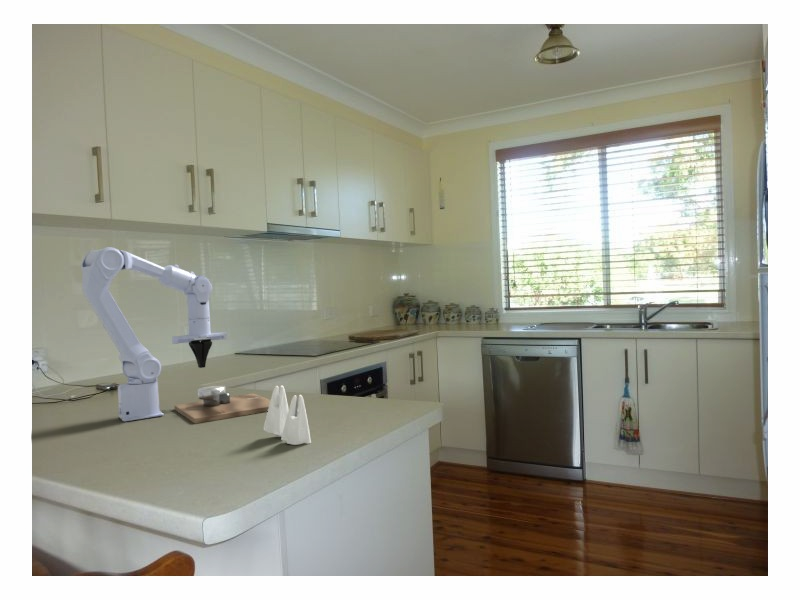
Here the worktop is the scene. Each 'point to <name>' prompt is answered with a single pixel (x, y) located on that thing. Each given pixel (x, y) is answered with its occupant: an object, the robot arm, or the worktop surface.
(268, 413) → the white slotted stand
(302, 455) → the worktop surface
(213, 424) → the worktop surface
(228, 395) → the grey lever with knob
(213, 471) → the worktop surface
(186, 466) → the worktop surface
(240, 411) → the post board
